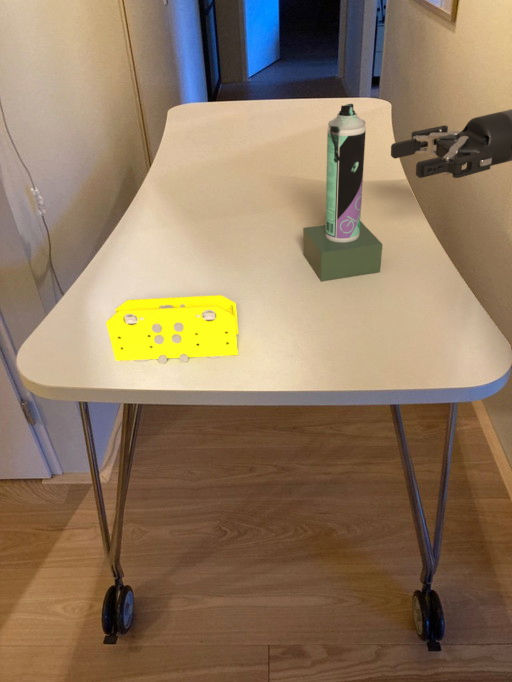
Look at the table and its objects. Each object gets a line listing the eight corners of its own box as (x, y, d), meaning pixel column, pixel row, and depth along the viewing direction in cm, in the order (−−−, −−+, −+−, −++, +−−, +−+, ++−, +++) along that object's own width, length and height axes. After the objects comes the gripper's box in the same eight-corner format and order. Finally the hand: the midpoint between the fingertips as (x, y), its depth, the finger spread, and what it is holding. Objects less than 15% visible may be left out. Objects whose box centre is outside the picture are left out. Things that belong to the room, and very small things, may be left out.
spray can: (353, 244, 86) (360, 110, 74) (320, 239, 88) (322, 108, 77) (363, 230, 90) (371, 100, 78) (331, 226, 92) (335, 99, 80)
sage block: (380, 272, 89) (382, 243, 86) (320, 281, 87) (321, 253, 84) (357, 246, 97) (359, 219, 94) (303, 254, 95) (303, 227, 92)
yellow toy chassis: (116, 368, 72) (102, 314, 67) (124, 342, 76) (112, 290, 71) (238, 362, 71) (233, 307, 66) (239, 337, 76) (234, 284, 71)
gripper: (479, 100, 87) (384, 122, 86) (536, 125, 76) (428, 151, 75) (474, 147, 92) (383, 168, 90) (526, 177, 81) (425, 202, 79)
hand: (404, 160), depth 83 cm, fingers open, 8 cm apart
